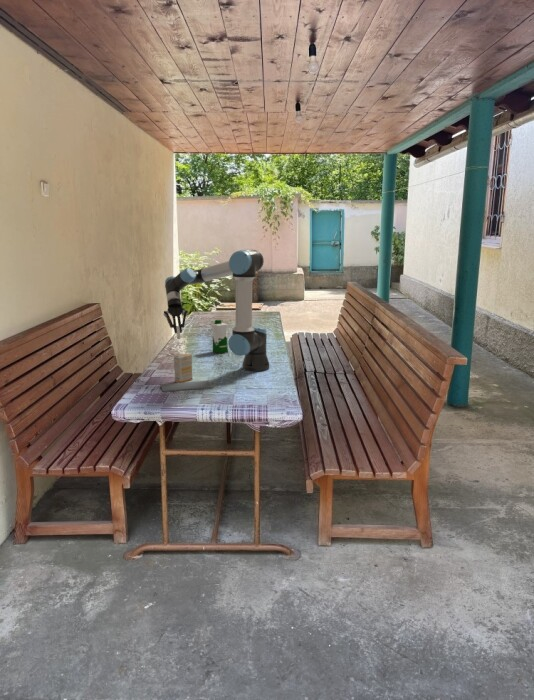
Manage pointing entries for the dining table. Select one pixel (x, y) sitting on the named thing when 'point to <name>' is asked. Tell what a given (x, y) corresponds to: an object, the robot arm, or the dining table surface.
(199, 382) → the rubber mat
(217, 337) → the milk carton
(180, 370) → the supplement box
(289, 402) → the dining table surface
